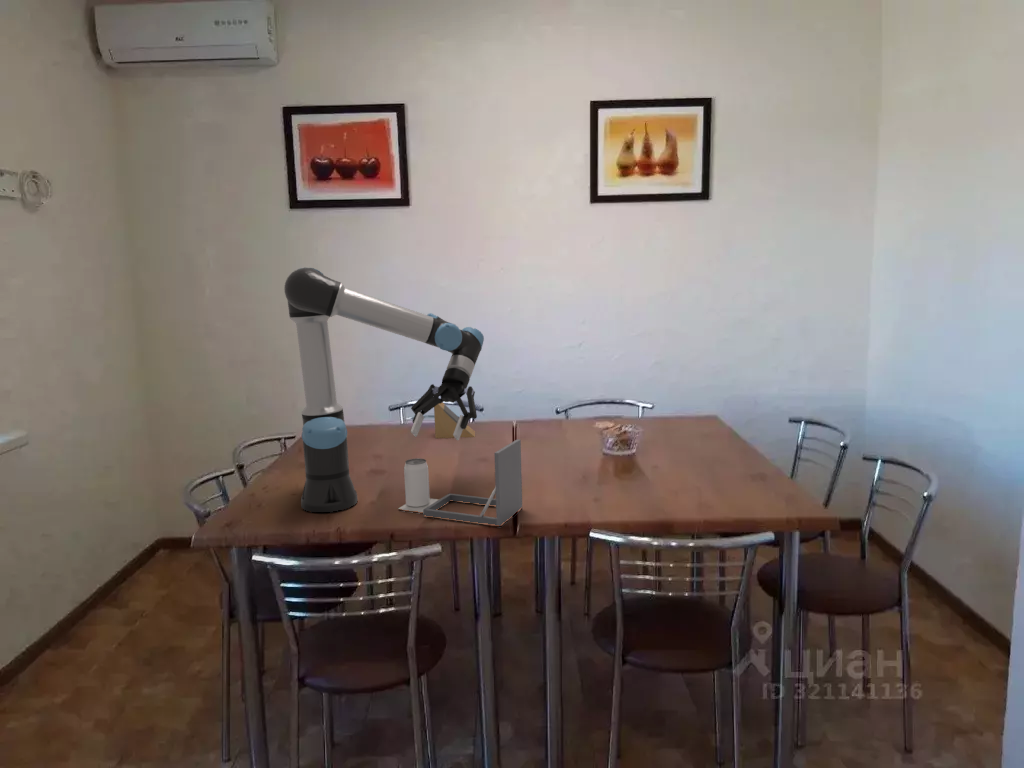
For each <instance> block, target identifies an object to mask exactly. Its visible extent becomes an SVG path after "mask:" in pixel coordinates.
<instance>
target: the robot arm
mask: <svg viewBox="0 0 1024 768" xmlns="http://www.w3.org/2000/svg"><path fill="white" fill-rule="evenodd" d="M283 290H284V296H285V298H286V300H287V307H288V315H289V319H291V320H292V321H293V323H295V326H296V333H297V341H298V349H299V357H300V365H301V366H300V367H301V374H302V381H303V389H304V398H305V399H304V400H305V408H304V409H302V411H301V417H302V418H301V419H302V430H301V431H302V432H301V439H302V447H303V459H304V471H305V481H304V482H305V483H304V485H303V490H302V495H301V499H300V505H301V509H302V508H303V509H304V510H303V509H302V510H303V511H305V510H306V511H305V512H307V511H311V512H310V513H312V512H330V513H334V512H333V511H337V512H339V511H338V510H342V511H344V510H343V509H345V510H347V509H346V508H348V509H350V508H349V507H351V506H353V505H354V506H356V505H357V504H356V503H358V502H357V501H358V492H357V490H356V489H355V487H354V484H353V483H354V482H353V481H352V478H351V476H350V469H349V468H350V467H349V466H350V465H349V449H348V429H347V424H346V423H345V417H344V416H345V415H344V407H343V406H342V405H341V404H339V403H338V400H337V393H336V392H337V391H336V385H335V384H336V383H335V376H334V375H335V374H334V368H333V359H332V358H333V357H332V351H331V341H330V334H329V333H330V332H329V325H328V324H329V323H328V320H329V319H330V318H332V317H335V316H340V317H343V318H346V319H348V320H353V321H355V322H358V323H361V324H364V325H368V326H370V327H374V328H377V329H380V330H383V331H387V332H390V333H393V334H395V335H398V336H402V337H405V338H408V339H411V340H415V341H417V342H421V343H424V344H426V345H430V346H432V347H436V348H438V349H440V350H442V351H445V352H449V353H451V356H450V359H449V361H448V363H447V366H446V369H445V372H444V374H443V376H442V379H441V384H440V385H439V386H436V385H435V384H434V383H432V384H430V386H429V387H428V390H427V391H426V392H425V393H424V394H423V395H422V396H421V397H420V398H419V399H418V400H417V401H416V402H415V403H414V404H413V405H412V406H411V407H410V409H411V411H412V412H413V413H414V415H413V419H412V423H413V424H412V427H411V429H410V433H411V434H412V435H413V436H414V437H415V438H416V437H417V436H418V434H419V432H420V430H421V426H422V424H423V421H424V419H425V417H424V415H426V414H427V413H428V412H429V411H431V410H432V409H434V407H435V406H436V405H438V404H439V403H440V404H441V403H442V402H443V403H449V402H450V403H452V404H453V403H455V402H456V403H457V405H458V406H459V408H460V411H461V413H462V414H463V415H462V414H459V416H458V417H459V420H458V423H457V425H456V428H455V431H454V434H453V436H454V437H455V438H454V440H456V441H460V439H461V438H460V436H461V433H462V431H463V429H465V428H466V427H467V425H468V423H469V421H470V420H471V419H475V420H476V419H477V416H478V414H477V410H476V409H477V408H476V404H475V402H476V401H475V393H476V391H475V390H474V389H473V386H470V385H469V383H470V380H471V379H470V378H471V377H472V374H473V372H474V369H475V367H476V366H475V365H476V363H477V361H478V359H479V356H480V353H481V351H482V348H483V345H484V341H485V338H484V335H483V333H482V332H481V331H480V330H479V329H478V328H473V327H471V326H466V327H464V328H462V329H460V328H459V326H457V325H456V324H455V323H452V322H449V321H447V320H446V319H443V318H441V317H439V316H438V315H436V314H434V313H427V314H425V313H422V312H421V313H420V312H418V311H415V310H412V309H410V308H406V307H404V306H401V305H398V304H394V303H391V302H388V301H385V300H383V299H380V298H376V297H373V296H370V295H367V294H365V293H362V292H359V291H357V290H356V291H355V290H352V289H350V288H347V287H345V286H344V284H343V283H342V282H341V281H337V280H335V279H332V278H330V277H328V276H326V275H324V273H323V272H321V271H320V270H319V269H316V268H313V267H300V268H298V269H296V270H293V271H292V272H291V273H290V274H289V275H288V277H287V278H286V280H285V283H284V289H283ZM465 395H466V396H467V397H466V398H467V404H468V409H469V412H468V410H467V408H466V406H465V404H464V402H463V400H462V397H463V396H465ZM355 504H356V505H355ZM354 506H353V507H354ZM351 508H352V507H351Z"/></svg>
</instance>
